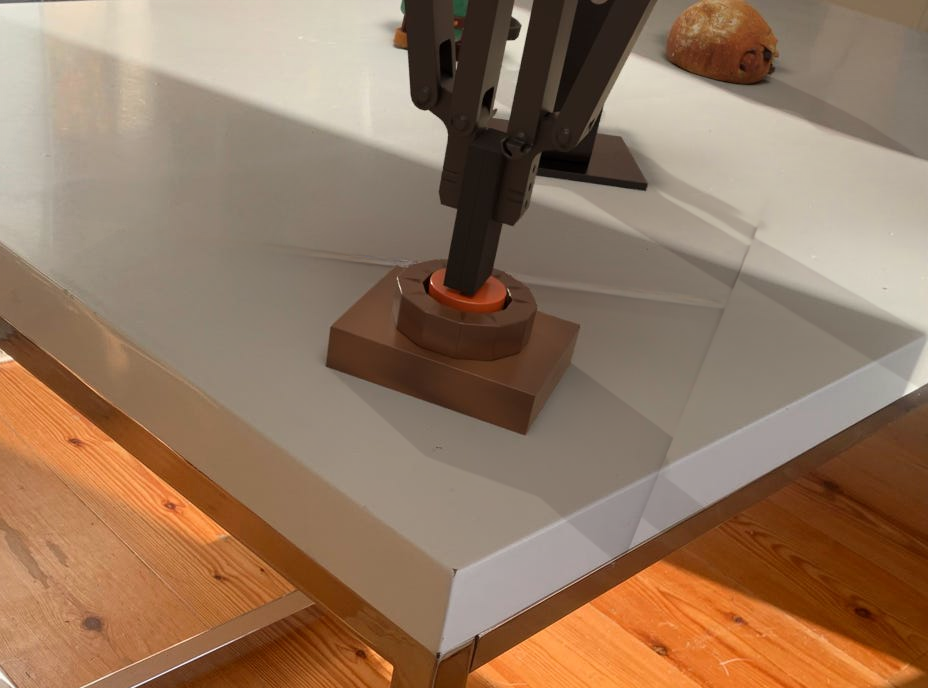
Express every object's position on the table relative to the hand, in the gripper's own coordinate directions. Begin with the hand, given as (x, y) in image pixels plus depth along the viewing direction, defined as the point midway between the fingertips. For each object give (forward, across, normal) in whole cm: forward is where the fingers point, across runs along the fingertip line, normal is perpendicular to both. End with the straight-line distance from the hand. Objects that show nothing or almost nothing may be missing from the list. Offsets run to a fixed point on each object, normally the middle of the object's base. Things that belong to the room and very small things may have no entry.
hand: (467, 279), depth 52 cm
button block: (+5, 0, 0) cm, 5 cm away
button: (+2, 0, 0) cm, 2 cm away
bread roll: (+5, -2, -70) cm, 70 cm away
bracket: (+5, +4, -31) cm, 32 cm away
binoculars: (+5, +18, -49) cm, 52 cm away
